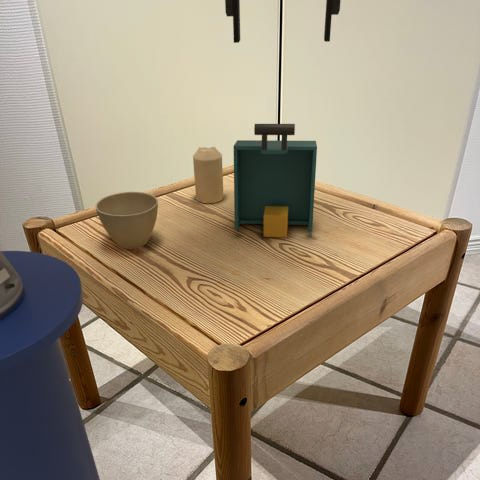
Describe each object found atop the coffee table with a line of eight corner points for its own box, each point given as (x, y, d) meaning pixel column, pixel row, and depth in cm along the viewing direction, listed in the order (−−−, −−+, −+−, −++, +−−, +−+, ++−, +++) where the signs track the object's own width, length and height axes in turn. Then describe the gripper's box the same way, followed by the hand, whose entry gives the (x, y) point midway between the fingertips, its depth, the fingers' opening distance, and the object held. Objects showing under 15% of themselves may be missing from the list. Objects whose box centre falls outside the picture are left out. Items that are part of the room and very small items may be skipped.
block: (265, 205, 89) (265, 226, 91) (263, 215, 86) (263, 237, 88) (288, 206, 88) (287, 227, 91) (287, 215, 85) (286, 237, 88)
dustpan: (236, 116, 85) (230, 124, 76) (317, 116, 83) (319, 124, 75) (237, 220, 93) (232, 237, 85) (311, 221, 92) (312, 239, 83)
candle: (223, 192, 105) (221, 142, 99) (224, 203, 100) (222, 151, 94) (196, 193, 105) (192, 144, 99) (196, 204, 100) (192, 153, 94)
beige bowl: (118, 262, 82) (111, 220, 78) (93, 240, 88) (85, 200, 84) (173, 244, 86) (168, 204, 82) (145, 224, 93) (140, 186, 89)
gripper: (381, -147, 67) (362, 36, 80) (194, -139, 70) (204, 38, 82) (389, -157, 61) (367, 43, 74) (184, -147, 64) (196, 45, 76)
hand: (281, 41), depth 78 cm, fingers open, 13 cm apart
